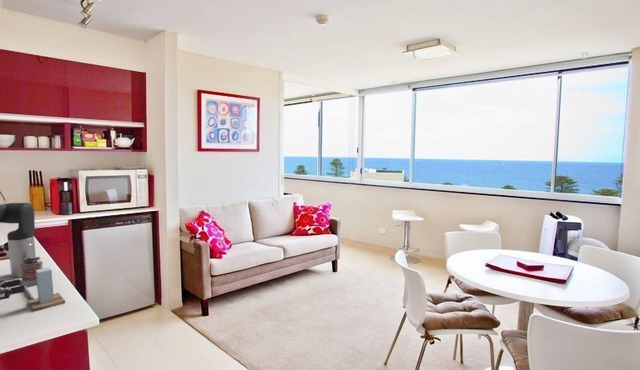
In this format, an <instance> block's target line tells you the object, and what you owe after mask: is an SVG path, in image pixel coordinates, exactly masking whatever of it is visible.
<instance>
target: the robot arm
mask: <svg viewBox="0 0 640 370" xmlns="http://www.w3.org/2000/svg"><path fill="white" fill-rule="evenodd" d="M1 223H2V224H3V223H4V224H18V225H17V226H18V227H17V229H15V230H11V231H9V232H8V233H7V236H6V237H7V245H8V257H9V264H10V265H9V266H10V276H11V277H12V278H17V279H13V280H8V281H7V280H0V301H2V300H6V299H9V298H10V297H11V296H12V295H17V294H21V293H24V292H26V291H25V286H24V285H22V286H21V285H20V284H21V280H20V279H18V278H22V269H21V263H24V260H23V259H24V258H29V257H33V258H34V257H37V255H36V254H37V253H36V246H35V227H36V225H35V223H36V222H35V208H34V206H33V205H32V204H31V203H29V202H10V203H8V202H7V203H3V204H0V224H1ZM34 261H35V260H34Z"/></svg>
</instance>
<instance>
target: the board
mask: <svg viewBox="0 0 640 370" xmlns="http://www.w3.org/2000/svg"><path fill="white" fill-rule="evenodd" d="M53 295H54V301H50V302H46V303H42V304H41V303H40V302H39V300H38V297H37V298H34V299H32V300H31V299H29V300H27V304H28V305H29V307H30V309H31V310H32V312H36V311H41V310H44V309H47V308H51V307H55V306H59V305H64V304H66V300H65V298H63V296H62V295H61V294H60V293H59V292H57V293H53Z"/></svg>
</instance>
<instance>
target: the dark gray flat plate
mask: <svg viewBox="0 0 640 370" xmlns="http://www.w3.org/2000/svg"><path fill="white" fill-rule="evenodd" d="M20 283H21V282H20ZM22 285H24V286H26V287H27V288H30V287H35V286H37V280H29V281H25V282H22V283H21V284H20V285H19V286H22Z"/></svg>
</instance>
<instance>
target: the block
mask: <svg viewBox="0 0 640 370" xmlns="http://www.w3.org/2000/svg"><path fill="white" fill-rule="evenodd" d="M36 278H37V285H36V288H37V298H38V300H39V302H40V303H41V304H42V303H46V302H50V301H54V295H53V294H54V285H53V275H52V268H50V267H45V268H43V269H39V270H36Z"/></svg>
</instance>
